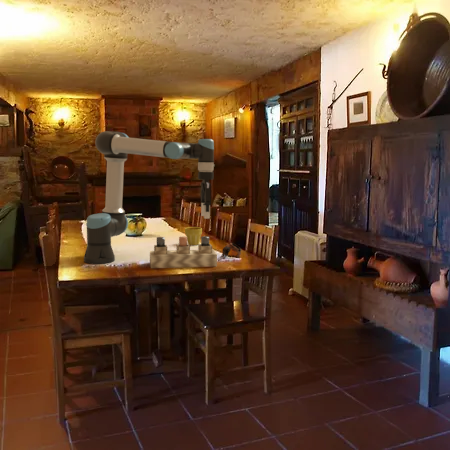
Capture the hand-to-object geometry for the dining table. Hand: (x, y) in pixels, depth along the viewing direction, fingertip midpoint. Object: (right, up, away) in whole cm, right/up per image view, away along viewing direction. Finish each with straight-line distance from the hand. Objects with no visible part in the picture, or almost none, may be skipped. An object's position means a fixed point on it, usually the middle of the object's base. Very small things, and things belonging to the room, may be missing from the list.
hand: (205, 217), depth 245 cm
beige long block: (-11, -23, +1) cm, 26 cm away
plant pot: (-9, -16, +55) cm, 58 cm away
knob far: (0, -14, +2) cm, 14 cm away
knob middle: (-11, -14, 0) cm, 18 cm away
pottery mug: (+12, -21, +22) cm, 33 cm away
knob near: (-22, -14, -2) cm, 26 cm away
